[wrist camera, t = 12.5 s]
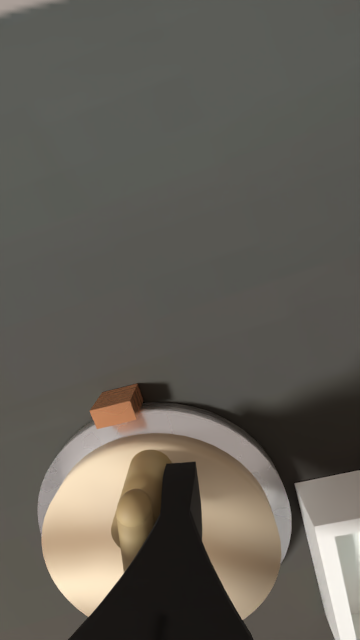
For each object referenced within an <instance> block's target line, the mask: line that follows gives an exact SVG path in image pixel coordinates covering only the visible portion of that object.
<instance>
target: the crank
mask: <svg viewBox="0 0 360 640" xmlns="http://www.w3.org/2000/svg"><path fill="white" fill-rule="evenodd" d="M183 462H196V467H197V475H198V482H199V490H200V498H201V510H202V542H203V545H204V547H205V550H206V552H207V554H208V556H209V558H210V561H211V563H212V565H213V567H214V569H215V571H216V573H217V575H218V577H219V579H220V581H221V583H222V585H223V587H224V589H225V591H226V592H227V594H228V596H229V598H230V600H231V601H232V603H233V605H234V607H235V608H236V610H237V612H238V614H239V615H240V617H241V619H242V620H243V619H245V618H246V617H247V616H249V615H250V614H251V613H252V612H253V611H255V610H256V609H257V608H258V607H259V605H260V604H261V603H262V602H263V601H264V600H265V598H266V597H267V595H268V594H269V592H270V591H271V589H272V587H273V585H274V583H275V581H276V579H277V575H278V572H279V568H280V562H281V541H280V536H279V532H278V528H277V525H276V522H275V518H274V515H273V512H272V509H271V506H270V504H269V501H268V499H267V496H266V494H265V492H264V490H263V489H262V487H261V485H260V484H259V482H258V481H257V480H256V478H255V477H254V476H253V475H252V473H251V472H250V471H249V470H248V469H247V468H246V467H245V466H244V465H243V464H242V463H240V462H239V461H238V460H237V459H235V458H234V457H232V456H231V455H230V454H228V453H227V452H225V451H223V450H221V449H219V448H218V447H216V446H214V445H211V444H209V443H206V442H204V441H201V440H198V439H194V438H191V437H187V436H182V435H176V434H169V433H147V434H137V435H132V436H127V437H123V438H120V439H117V440H114V441H111V442H108V443H106V444H104V445H102V446H100V447H98V448H96V449H95V450H93V451H92V452H90V453H89V454H87V455H86V456H84V457H83V458H82V459H81V460H80V461H79V462H78V463H77V464H76V465H75V466H74V467H73V468H72V469H71V471H70V472H69V473H68V474H67V476H66V477H65V479H64V481H63V483H62V484H61V486H60V488H59V489H58V491H57V493H56V495H55V496H54V498H53V500H52V501H51V503H50V505H49V507H48V510H47V512H46V515H45V518H44V522H43V527H42V549H43V556H44V559H45V562H46V566H47V568H48V571H49V573H50V575H51V577H52V579H53V581H54V582H55V584H56V585H57V587H58V588H59V590H60V591H61V592H62V593H63V595H64V596H65V597H66V598H67V599H68V600H69V601H70V602H71V603H72V604H73V605H74V606H75V607H76V608H77V609H79V610H80V611H81V612H82V613H84V614H85V615H86V616H88V617H89V616H90V615H91V614H92V613H93V611H94V610H95V609H96V608H97V607H98V606H99V604H100V603H101V602H102V601H103V599H104V598H105V597H106V596H107V594H108V593H109V592H110V590H111V589H112V588H113V587H114V585H115V584H116V583H117V582H118V580H119V579H120V578H121V576H122V575H123V573H124V572H125V571H126V569H127V568H128V566H129V565H130V563H131V562H132V560H133V559H134V557H135V556H136V555H137V553H138V552H139V550H140V548H141V547H142V545H143V543H144V542H145V540H146V539H147V537H148V535H149V533H150V532H151V530H152V528H153V526H154V524H155V522H156V520H157V519H158V517H159V515H160V510H161V495H162V481H163V474H164V470H165V466H166V464H170V463H183Z"/></svg>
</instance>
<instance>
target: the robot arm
mask: <svg viewBox="0 0 360 640" xmlns="http://www.w3.org/2000/svg"><path fill="white" fill-rule="evenodd" d="M68 640H253V638H252V635H251V633H250V632H249V630H248V628H247V627H246V625H245V624H244V622H243V620H242V619H241V617H240V615H239V614H238V612H237V610H236V608H235V607H234V605H233V603H232V601H231V600H230V598H229V596H228V594H227V592H226V591H225V589H224V587H223V585H222V583H221V581H220V579H219V577H218V575H217V573H216V571H215V569H214V567H213V565H212V563H211V561H210V558H209V556H208V554H207V552H206V550H205V547H204V545H203V542H202V510H201V498H200V490H199V482H198V475H197V467H196V462H183V463H170V464H166V466H165V470H164V474H163V481H162V495H161V510H160V515H159V517H158V519H157V520H156V522H155V524H154V526H153V528H152V530H151V532H150V533H149V535H148V537H147V539H146V540H145V542H144V543H143V545H142V547H141V548H140V550H139V552H138V553H137V555H136V556H135V557H134V559H133V560H132V562H131V563H130V565H129V566H128V568H127V569H126V571H125V572H124V573H123V575H122V576H121V578H120V579H119V580H118V582H117V583H116V584H115V585H114V587H113V588H112V589H111V590H110V592H109V593H108V594H107V596H106V597H105V598H104V599H103V601H102V602H101V603H100V604H99V606H98V607H97V608H96V609H95V610H94V611H93V613H92V614H91V615H90V616H89V617H88V618H87V619H86V620H85V621H84V623H83V624H82V625H81V626H80V627H79V628H78V629H77V630H76V631H75V633H74V634H73V635H72V636H71V637H70V638H69V639H68Z"/></svg>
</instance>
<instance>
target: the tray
mask: <svg viewBox="0 0 360 640" xmlns="http://www.w3.org/2000/svg"><path fill="white" fill-rule="evenodd" d="M294 485H295V489H296V493H297V497H298V501H299V506H300V510H301V514H302V518H303V522H304V527H305V531H306V535H307V539H308V543H309V547H310V552H311V556H312V560H313V564H314V568H315V573H316V577H317V581H318V585H319V589H320V593H321V598H322V602H323V606H324V610H325V614H326V617H327V620H328V622H329V625H330V628H331V630H332V633H333V635H334V638H335V640H360V470H357V471H352V472H348V473H343V474H338V475H333V476H328V477H323V478H318V479H313V480H308V481H304V482H299V483H294Z"/></svg>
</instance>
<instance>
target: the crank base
mask: <svg viewBox="0 0 360 640" xmlns="http://www.w3.org/2000/svg"><path fill="white" fill-rule="evenodd" d="M90 413H91V415H92V418H93V420H92V421H91V422H89V423H88V424H86V425H85V426H83V427H82V428H81V429H80V430H79V431H78V432H76V433H75V434H74V435H73V436H72V437H71V438H70V439H69V441H68V442H67V443H66V444H65V445H64V446H63V448H62V449H61V451H60V452H59V454H58V455H57V457H56V458H55V459H54V461H53V463H52V464H51V466H50V468H49V469H48V471H47V473H46V475H45V478H44V480H43V482H42V485H41V490H40V494H39V499H38V521H39V527H40V532H41V536H42V527H43V522H44V518H45V515H46V512H47V510H48V507H49V505H50V503H51V501H52V500H53V498H54V496H55V495H56V493H57V491H58V489H59V488H60V486H61V484H62V483H63V481H64V479H65V477H66V476H67V474H68V473H69V472H70V471H71V469H72V468H73V467H74V466H75V465H76V464H77V463H78V462H79V461H80V460H81V459H82V458H83V457H84V456H86V455H87V454H89V453H90V452H92V451H93V450H95V449H96V448H98V447H100V446H102V445H104V444H106V443H108V442H111V441H114V440H117V439H120V438H123V437H127V436H132V435H137V434H147V433H169V434H176V435H182V436H187V437H191V438H194V439H198V440H201V441H204V442H206V443H209V444H211V445H214V446H216V447H218V448H219V449H221V450H223V451H225V452H227V453H228V454H230V455H231V456H232V457H234V458H235V459H237V460H238V461H239V462H240V463H242V464H243V465H244V466H245V467H246V468H247V469H248V470H249V471H250V472H251V473H252V475H253V476H254V477H255V478H256V480H257V481H258V482H259V484H260V485H261V487H262V489H263V490H264V492H265V494H266V496H267V499H268V501H269V504H270V506H271V509H272V512H273V515H274V518H275V522H276V525H277V528H278V532H279V536H280V541H281V562H280V565H281V563H282V561H283V559H284V557H285V555H286V552H287V549H288V546H289V542H290V536H291V510H290V504H289V500H288V497H287V494H286V491H285V488H284V486H283V483H282V481H281V478H280V476H279V474H278V472H277V470H276V468H275V466H274V464H273V462H272V460H271V459H270V457H269V456H268V454H267V453H266V452H265V450H264V449H263V448H262V447H261V446H260V445H259V443H258V442H257V441H256V440H255V439H254V438H253V437H252V436H250V435H249V434H248V433H247V432H245V431H244V430H243V429H242V428H240V427H239V426H237V425H236V424H234V423H232V422H231V421H229V420H227V419H226V418H224V417H221V416H219V415H217V414H215V413H213V412H210V411H207V410H204V409H201V408H197V407H194V406H189V405H184V404H178V403H164V402H155V403H143V398H142V395H141V392H140V389H139V386H138V383H137V384H133V385H130V386H126V387H122V388H118V389H114V390H110V391H106V392H102V394H101V395H100V396H99V398H98V399H97V401H96V402H95V404H94V405H93V407H92V408H91V410H90Z"/></svg>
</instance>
